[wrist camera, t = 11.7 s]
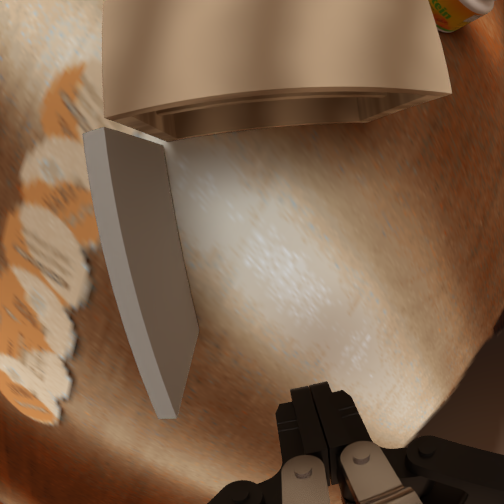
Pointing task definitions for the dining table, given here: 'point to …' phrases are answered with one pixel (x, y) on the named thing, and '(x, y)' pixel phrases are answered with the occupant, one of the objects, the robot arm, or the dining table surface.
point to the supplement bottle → (458, 12)
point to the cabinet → (265, 63)
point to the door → (144, 260)
